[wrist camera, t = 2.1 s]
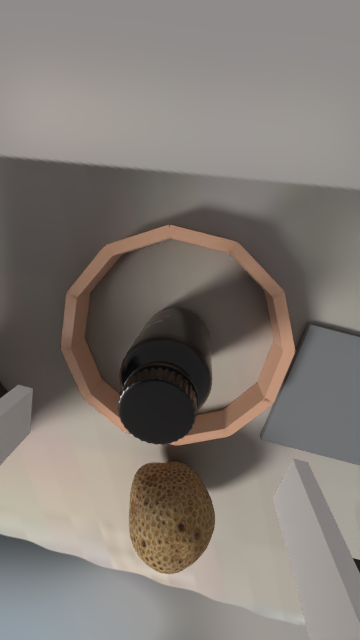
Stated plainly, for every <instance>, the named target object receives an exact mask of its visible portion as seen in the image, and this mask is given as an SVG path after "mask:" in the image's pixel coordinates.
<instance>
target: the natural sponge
mask: <svg viewBox="0 0 360 640" xmlns="http://www.w3.org/2000/svg"><path fill="white" fill-rule="evenodd" d="M214 525H215V513H214V508H213V504H212V500H211V498H210V496H209V493H208V491H207V489H206V487H205V486H204V484H203V482H202V481H201V479H200V478H199V476H198V475H197V473H196V472H195V471H194V470H193V469H192V468H191V467H189V466H188V465H186V464H184V463H181V462H176V461H172V462H166V463H148V464H145V465H143V466H142V467H141V468H140V469H139V470H138V471H137V472H136V474H135V477H134V479H133V483H132V487H131V493H130V510H129V529H130V537H131V540H132V544H133V547H134V549H135V551H136V552H137V554H138V556H139V557H140V558H141V559H142V560H143V561H144V562H145V563H146V564H147V565H148V566H149V567H151V568H153V569H154V570H156V571H158V572H160V573H165V574H173V573H178V572H180V571H182V570H184V569H185V568H187V567H188V566H190V565H191V564H193V563H194V562H195V561H196V560H197V559H198V558H199V557H200V556H201V555H202V554H203V552H204V551H205V550H206V548H207V546H208V544H209V542H210V539H211V537H212V534H213V531H214Z"/></svg>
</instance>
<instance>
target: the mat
mask: <svg viewBox="0 0 360 640" xmlns="http://www.w3.org/2000/svg"><path fill="white" fill-rule="evenodd" d="M260 437H261V440H264V441H268V442H272V443H276V444H280V445H284V446H287V447H291V448H295V449H299V450H303V451H307V452H311V453H314V454H318V455H322V456H326V457H330V458H334V459H338V460H341V461H345V462H349V463H353V464H357V465H360V336H357V335H353V334H349V333H346V332H342V331H338V330H334V329H330V328H326V327H322V326H318V325H314V324H311V323H308V324H307V326H306V329H305V331H304V333H303V336H302V338H301V341H300V343H299V345H298V348H297V350H296V352H295V355H294V357H293V359H292V362H291V364H290V366H289V369H288V371H287V374H286V376H285V378H284V381H283V383H282V385H281V388H280V390H279V392H278V395H277V397H276V399H275V402H274V404H273V407H272V409H271V411H270V414H269V416H268V418H267V421H266V423H265V425H264V428H263V430H262V433H261V435H260Z"/></svg>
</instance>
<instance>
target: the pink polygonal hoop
mask: <svg viewBox="0 0 360 640" xmlns="http://www.w3.org/2000/svg"><path fill="white" fill-rule="evenodd" d="M170 239H176V240H179V241H183V242H187V243H191V244H195V245H199V246H203V247H207V248H211V249H215V250H218V251H222V252H226V253H229V254H230V256H231V257H232V258H233V259H234V260H235V261H236V262H237V263H238V264H239V265H240V266H241V267H242V268H243V269H244V270H245V271H246V272H247V273H248V274H249V275H250V276H251V277H252V278H253V279H254V280H255V281H256V282H257V283H258V284H259V286H260V287H261V288H262V289H263V290H264V291H265V296H266V301H267V306H268V311H269V316H270V321H271V326H272V331H273V336H274V341H273V344H272V346H271V349H270V351H269V354H268V356H267V359H266V362H265V364H264V367H263V369H262V372H261V374H260V377H259V380H258V382H257V383H256V384H255V385H253V386H252V387H251V388H250V389H248V390H247V391H246V392H245V393H243V394H242V395H241V396H239V397H238V398H237V399H236V400H234V401H233V402H232V403H231V404H229V405H228V406H227V407H226V408H224V409H223V410H220V411H215V412H210V413H204V414H199V415H196V420H195V423H194V424H193V428H192V429H191V430H190V431H189V433H188V434H187V435H185V436H184V437H183V438H182V439H179V440H178V441H176V442H172V443H170V444H171V445H175V446H176V444H177V446H178V445H184V444H190V443H195V442H201V441H207V440H212V439H218V438H224V437H229V436H231V435H232V434H234V433H235V432H236V431H238V430H239V429H240V428H242V427H243V426H244V425H246V424H247V423H248V422H250V421H251V420H252V419H254V418H255V417H256V416H258V415H259V414H260V413H262V412H263V411H264V410H266V409H267V408H268V407H270V406H271V405H272V403H274V401H275V399H276V396H277V394H278V392H279V389H280V387H281V384H282V382H283V380H284V377H285V375H286V373H287V370H288V368H289V366H290V363H291V361H292V359H293V356H294V354H295V347H294V341H293V335H292V330H291V324H290V319H289V313H288V308H287V302H286V297H285V292H284V290H283V289H282V288H281V287H280V286H279V285H278V284H277V283H276V282H275V281H274V279H273V278H272V277H271V276H270V275H269V274H268V273H267V272H266V271H265V270H264V269H263V268H262V267H261V266H260V265H259V264H258V263H257V262H256V261H255V259H254V258H253V257H252V256H251V255H250V254H249V253H248V252H247V251H246V250H245V249H244V248H243V247H242V246H241V245H240V244H239V243H238V242H236V241H232V240H228V239H224V238H221V237H217V236H213V235H209V234H205V233H201V232H197V231H193V230H189V229H185V228H182V227H178V226H174V225H166V226H163V227H160V228H156V229H153V230H150V231H147V232H144V233H141V234H138V235H135V236H131V237H128V238H125V239H122V240H119V241H116V242H113V243H109V244H106V245H105V246H104V247H103V248H102V249H101V250H100V252H99V253H98V254H97V255H96V257H95V258H94V259H93V260H92V262H91V263H90V264H89V265H88V266H87V268H86V269H85V270H84V271H83V273H82V274H81V275H80V276H79V278H78V279H77V280H76V281H75V282H74V284H73V285H72V286H71V287H70V289H69V290H68V291H67V293H66V301H65V310H64V319H63V329H62V338H61V348H62V349H61V351H62V353H63V356H64V358H65V360H66V362H67V364H68V367H69V369H70V371H71V373H72V376H73V378H74V380H75V382H76V384H77V387H78V389H79V391H80V393H81V396H82V398H83V399H84V400H85V401H87V402H88V403H89V404H90V405H92V406H93V407H94V408H95V409H96V410H98V411H99V412H100V413H101V414H103V415H104V416H105V417H106V418H108V419H109V420H110V421H111V422H112V423H114V424H115V425H116V426H117V427H119V428H120V429H121V430H122V431H125V433H129V432H128V430H127V429H126V428H124V425H123V423H121V419H120V417H119V416H118V414H119V412H118V409H117V408H118V400H119V398H120V394H119V393H118V392H117V391H116V390H114V389H113V388H112V387H111V386H110V385H109V384H107V383H106V382H105V381H104V380H103V379H102V378H101V376H100V373H99V371H98V369H97V366H96V364H95V361H94V359H93V357H92V354H91V352H90V349H89V347H88V345H87V342H86V340H85V331H86V323H87V316H88V308H89V301H90V294H91V291H92V290H93V289H94V287H95V286H96V285H97V284H98V283H99V282H100V280H101V279H102V278H103V277H104V276H105V274H106V273H107V272H108V271H109V270H110V269H111V267H112V266H113V265H114V264H115V263H116V261H117V260H118V259H119V258H120V257H121V256H122V254H125V253H128V252H131V251H135V250H138V249H141V248H144V247H148V246H151V245H154V244H157V243H160V242H164V241H167V240H170ZM129 434H131V433H129Z"/></svg>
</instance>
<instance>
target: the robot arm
mask: <svg viewBox="0 0 360 640" xmlns="http://www.w3.org/2000/svg"><path fill="white" fill-rule="evenodd" d="M32 397H33V388H29V387H25V386H22V385H17V386H16V387H14V388H13V389H12V390H11V391H9V392H8V393H6V391H5V389H4V388H3V387H2V385H1V384H0V465H1V464H2V463H3V462H4V460H5V459H6V458H7V457H8V456H9V455H10V454H11V453H12V452H13V451H14V450H15V448H16V447H17V446H18V445H19V444H20V443H21V442H22V441H23V440H24V439H25V438H26V436H27V435H28V434H29V433H30V425H31V411H32ZM273 501H274V505H275V509H276V513H277V516H278V520H279V524H280V528H281V531H282V535H283V539H284V543H285V547H286V550H287V554H288V558H289V562H290V565H291V569H292V573H293V577H294V581H295V584H296V588H297V592H298V596H299V599H300V603H301V607H302V611H303V615H304V618H305V622H306V626H307V629H308V633H309V637H310V640H360V560H358V559H354V558H352V556H351V553H350V551H349V549H348V547H347V545H346V543H345V541H344V538H343V536H342V534H341V532H340V530H339V528H338V526H337V523H336V521H335V519H334V517H333V515H332V513H331V511H330V508H329V506H328V504H327V502H326V500H325V498H324V496H323V494H322V491H321V489H320V487H319V485H318V483H317V481H316V479H315V476H314V474H313V472H312V470H311V468H310V466H309V464H308V462H304V461H300V460H297V459H292V461H291V463H290V465H289V467H288V469H287V471H286V473H285V475H284V477H283V479H282V481H281V483H280V485H279V487H278V489H277V491H276V493H275V495H274V497H273Z"/></svg>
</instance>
